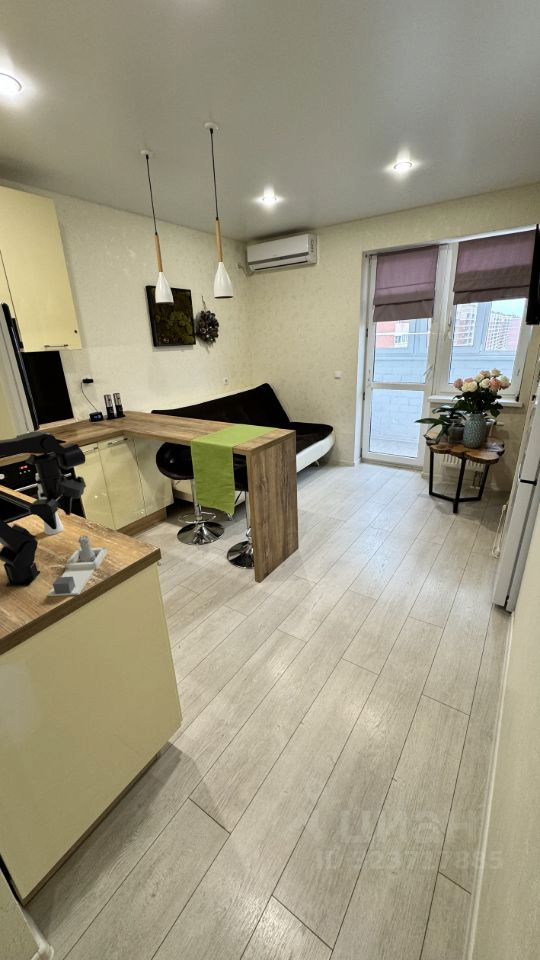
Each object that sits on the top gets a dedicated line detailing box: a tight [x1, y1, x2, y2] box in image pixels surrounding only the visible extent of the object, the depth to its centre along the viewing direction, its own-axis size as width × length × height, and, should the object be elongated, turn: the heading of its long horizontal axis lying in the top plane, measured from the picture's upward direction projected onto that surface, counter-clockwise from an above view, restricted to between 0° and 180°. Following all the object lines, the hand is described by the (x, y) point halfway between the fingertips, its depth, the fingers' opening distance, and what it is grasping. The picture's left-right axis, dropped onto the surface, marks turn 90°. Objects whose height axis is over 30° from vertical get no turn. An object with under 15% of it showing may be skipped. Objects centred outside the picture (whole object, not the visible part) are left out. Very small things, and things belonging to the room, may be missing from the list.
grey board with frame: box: [47, 547, 108, 597], centre depth 110 cm, size 9×20×4 cm, turn 3°
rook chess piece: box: [77, 534, 97, 563], centre depth 115 cm, size 4×4×8 cm
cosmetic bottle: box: [35, 472, 65, 536], centre depth 131 cm, size 6×6×22 cm
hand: (61, 521), depth 115 cm, fingers open, 9 cm apart
